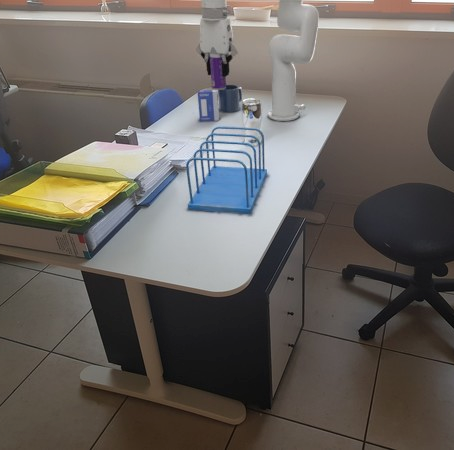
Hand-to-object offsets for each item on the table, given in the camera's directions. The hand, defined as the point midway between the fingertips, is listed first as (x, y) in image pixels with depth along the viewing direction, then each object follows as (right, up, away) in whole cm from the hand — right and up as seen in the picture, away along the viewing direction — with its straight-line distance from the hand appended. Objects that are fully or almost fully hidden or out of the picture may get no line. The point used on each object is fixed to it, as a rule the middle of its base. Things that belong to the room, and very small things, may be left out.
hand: (218, 74), depth 150 cm
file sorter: (+5, -39, -15) cm, 42 cm away
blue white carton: (-8, -6, +39) cm, 40 cm away
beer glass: (+11, -19, +17) cm, 28 cm away
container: (0, -4, +2) cm, 5 cm away
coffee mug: (+1, +2, +51) cm, 51 cm away
